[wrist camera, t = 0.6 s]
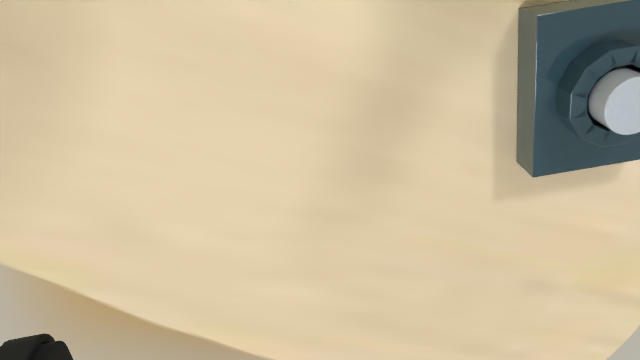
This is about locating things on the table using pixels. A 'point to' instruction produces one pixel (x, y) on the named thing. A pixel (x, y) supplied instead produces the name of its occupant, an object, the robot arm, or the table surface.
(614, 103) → the light grey short cylinder
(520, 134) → the push button box
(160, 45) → the table surface
